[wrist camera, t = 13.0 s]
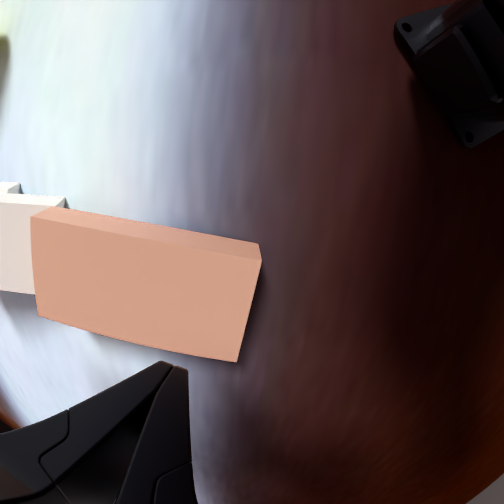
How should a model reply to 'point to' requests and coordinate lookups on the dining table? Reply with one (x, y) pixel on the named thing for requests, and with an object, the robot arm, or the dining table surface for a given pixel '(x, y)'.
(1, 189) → the tile
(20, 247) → the tile
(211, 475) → the dining table surface
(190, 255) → the tile
